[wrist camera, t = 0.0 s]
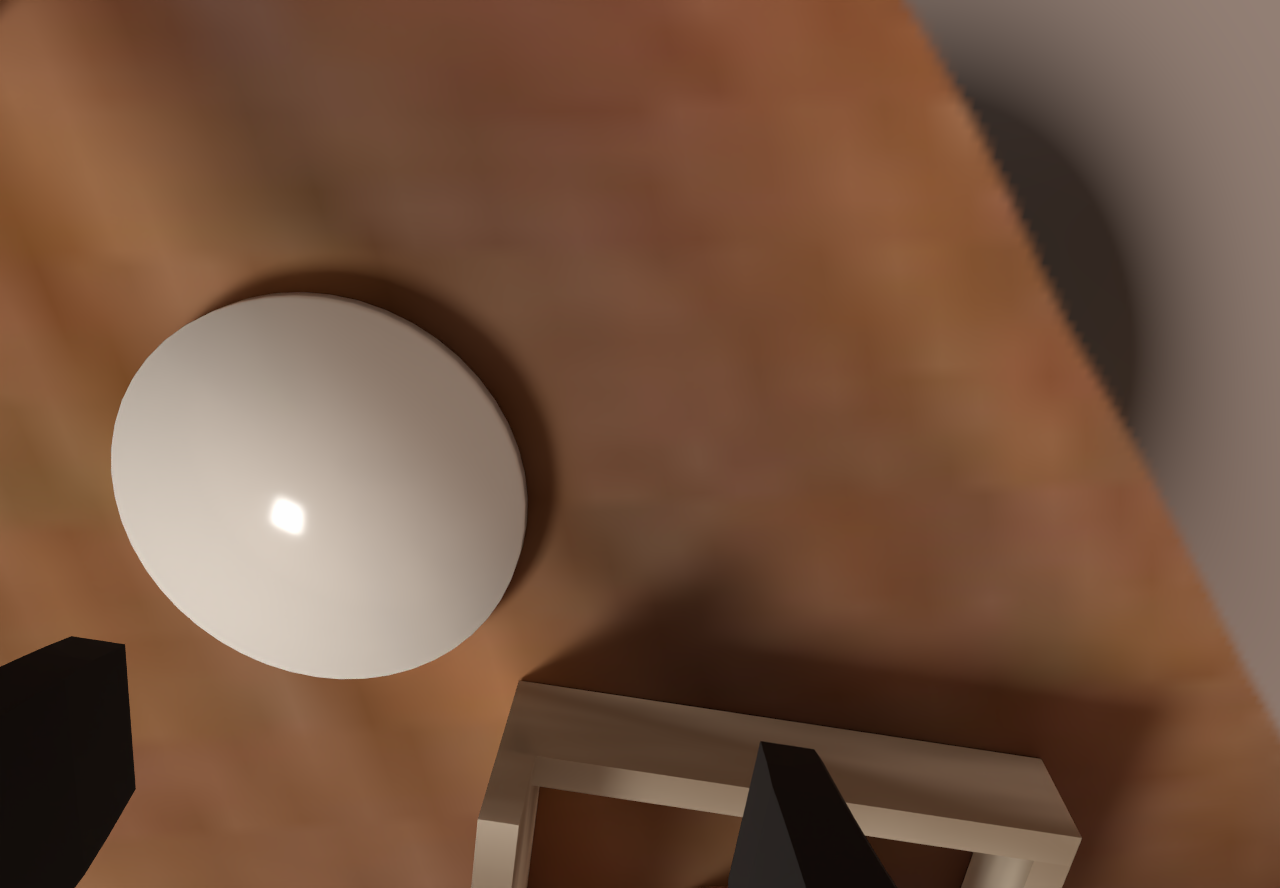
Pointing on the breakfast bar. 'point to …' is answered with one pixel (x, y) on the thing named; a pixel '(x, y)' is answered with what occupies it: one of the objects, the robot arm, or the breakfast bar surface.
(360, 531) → the coaster
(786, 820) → the robot arm
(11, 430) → the breakfast bar surface
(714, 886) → the flower pot
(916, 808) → the frame
